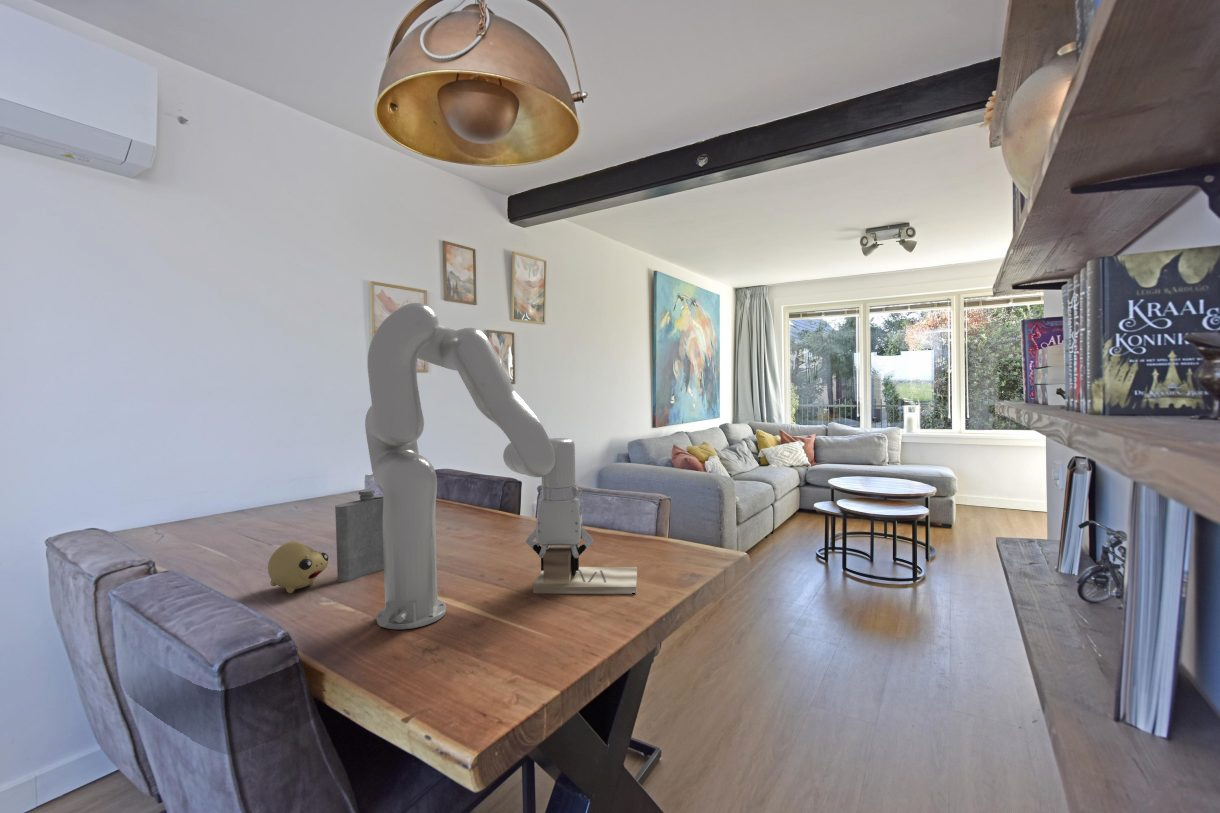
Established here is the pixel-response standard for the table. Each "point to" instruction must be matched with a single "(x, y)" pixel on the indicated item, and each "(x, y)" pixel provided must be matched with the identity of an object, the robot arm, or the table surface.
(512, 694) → the table surface
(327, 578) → the table surface
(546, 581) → the block
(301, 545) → the yellow round soft figure
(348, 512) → the hip flask
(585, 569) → the birch board
